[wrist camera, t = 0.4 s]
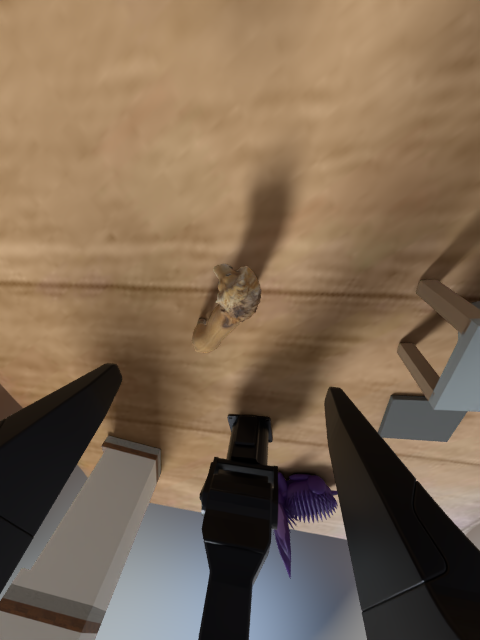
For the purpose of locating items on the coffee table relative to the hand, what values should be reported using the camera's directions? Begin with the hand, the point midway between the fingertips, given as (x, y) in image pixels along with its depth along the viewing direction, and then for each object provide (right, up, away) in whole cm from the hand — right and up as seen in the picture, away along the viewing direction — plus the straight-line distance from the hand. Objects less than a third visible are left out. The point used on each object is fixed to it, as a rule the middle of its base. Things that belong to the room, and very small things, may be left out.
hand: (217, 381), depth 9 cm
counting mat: (+24, -10, +19) cm, 32 cm away
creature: (+11, -28, +34) cm, 45 cm away
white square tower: (-21, -26, +38) cm, 50 cm away
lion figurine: (0, +5, +14) cm, 15 cm away
